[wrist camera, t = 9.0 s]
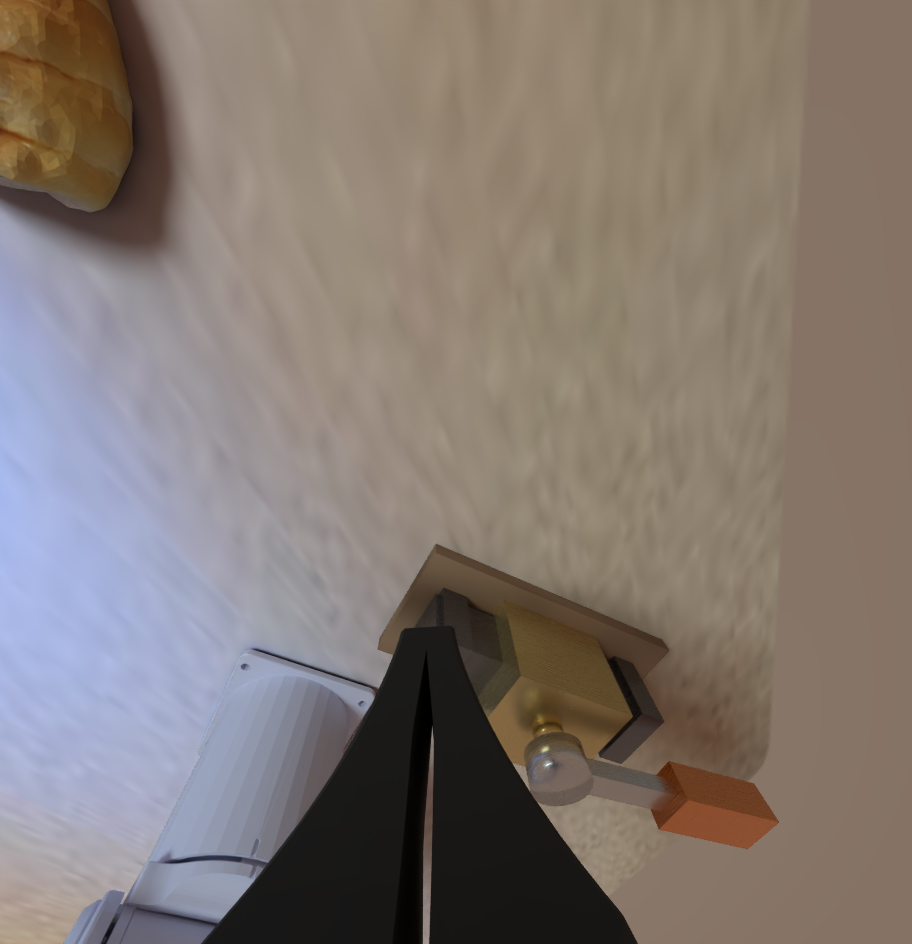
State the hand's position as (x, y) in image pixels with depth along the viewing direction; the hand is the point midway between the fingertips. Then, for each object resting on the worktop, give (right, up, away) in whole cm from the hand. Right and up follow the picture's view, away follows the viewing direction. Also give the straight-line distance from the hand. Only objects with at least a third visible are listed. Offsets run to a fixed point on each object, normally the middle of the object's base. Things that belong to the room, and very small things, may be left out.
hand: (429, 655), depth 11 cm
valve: (+5, -5, +13) cm, 15 cm away
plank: (+5, -5, +13) cm, 15 cm away
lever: (+9, -9, +8) cm, 15 cm away
